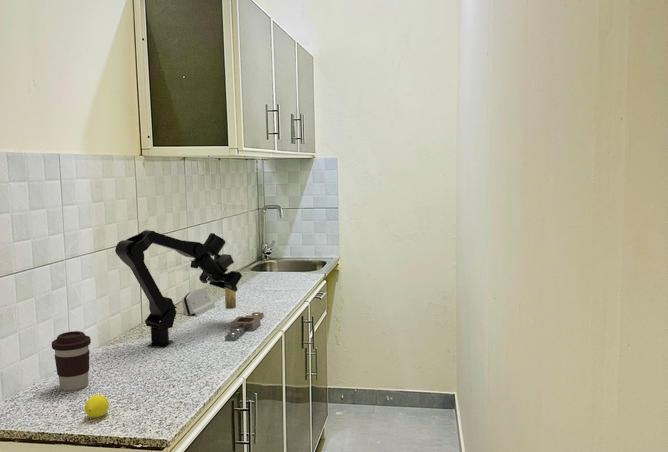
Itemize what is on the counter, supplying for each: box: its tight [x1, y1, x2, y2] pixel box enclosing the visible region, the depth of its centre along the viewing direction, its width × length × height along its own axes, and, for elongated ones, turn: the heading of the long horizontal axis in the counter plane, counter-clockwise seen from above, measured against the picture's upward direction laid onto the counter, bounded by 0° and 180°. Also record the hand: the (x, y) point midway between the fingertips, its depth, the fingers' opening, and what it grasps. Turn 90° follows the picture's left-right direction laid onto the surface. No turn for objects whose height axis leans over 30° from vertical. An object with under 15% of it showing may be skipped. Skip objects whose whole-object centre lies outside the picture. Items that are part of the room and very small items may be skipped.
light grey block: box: [181, 288, 216, 317], centre depth 249 cm, size 17×5×10 cm, turn 164°
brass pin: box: [224, 288, 237, 310], centre depth 227 cm, size 4×4×12 cm
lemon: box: [84, 394, 110, 419], centre depth 147 cm, size 7×5×5 cm
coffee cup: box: [51, 330, 92, 392], centre depth 167 cm, size 10×10×15 cm
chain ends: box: [224, 311, 265, 342], centre depth 223 cm, size 33×9×3 cm, turn 169°
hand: (232, 289), depth 228 cm, fingers closed on brass pin, 4 cm apart
